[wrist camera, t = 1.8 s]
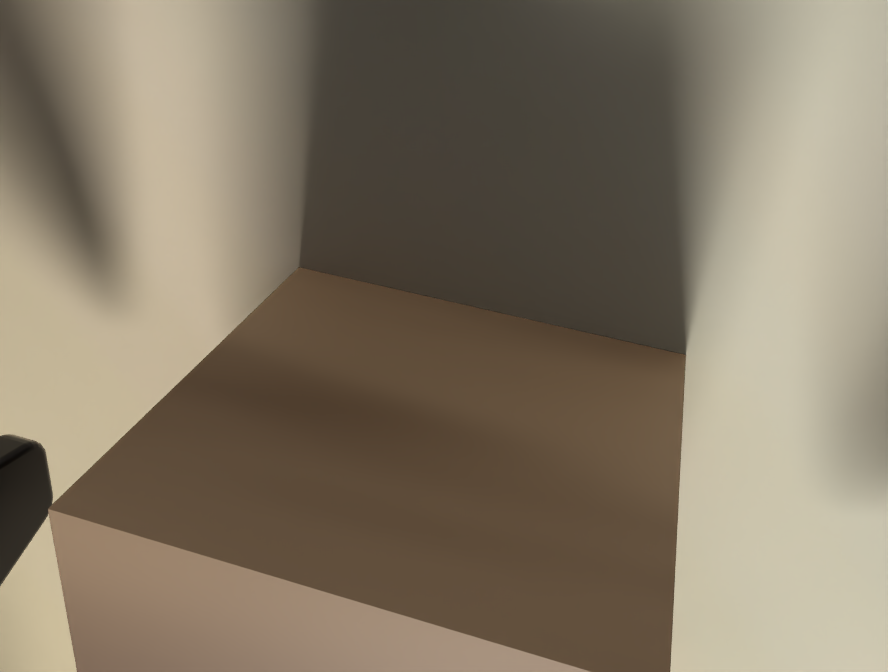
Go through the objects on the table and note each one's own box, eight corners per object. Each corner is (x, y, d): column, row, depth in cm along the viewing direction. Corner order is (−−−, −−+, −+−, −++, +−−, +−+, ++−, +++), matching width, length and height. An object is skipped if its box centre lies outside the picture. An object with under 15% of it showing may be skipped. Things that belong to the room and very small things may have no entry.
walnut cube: (602, 631, 11) (548, 1011, 8) (295, 542, 12) (108, 845, 8) (686, 351, 9) (670, 694, 5) (300, 264, 10) (49, 508, 6)
